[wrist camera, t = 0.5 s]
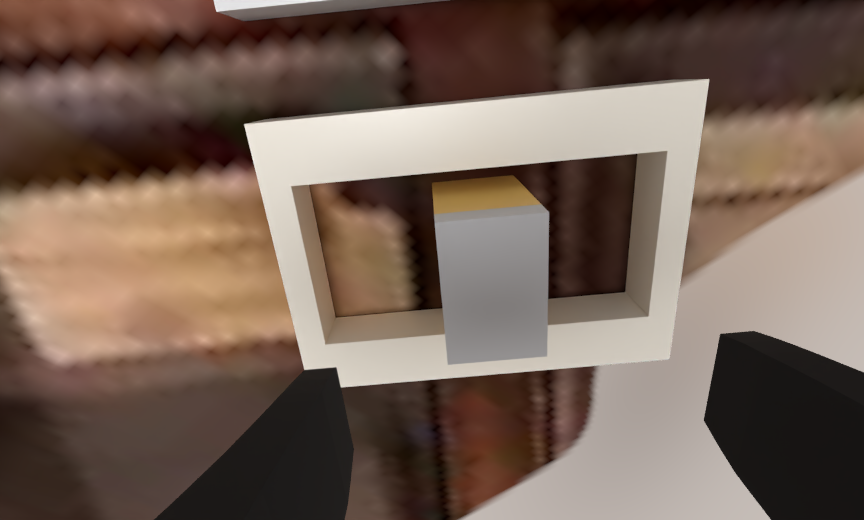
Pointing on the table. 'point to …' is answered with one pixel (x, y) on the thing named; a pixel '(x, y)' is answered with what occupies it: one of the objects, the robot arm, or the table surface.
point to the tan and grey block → (492, 269)
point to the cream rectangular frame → (473, 149)
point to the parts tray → (299, 7)
